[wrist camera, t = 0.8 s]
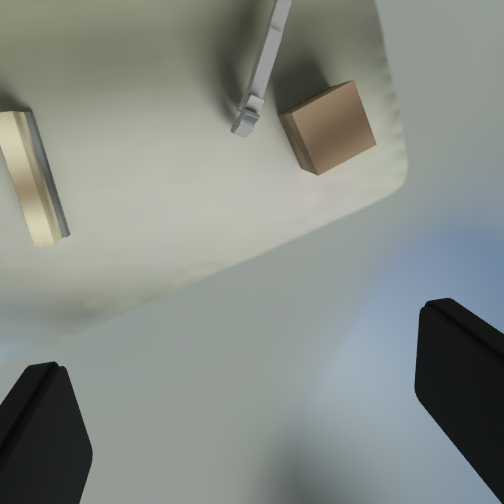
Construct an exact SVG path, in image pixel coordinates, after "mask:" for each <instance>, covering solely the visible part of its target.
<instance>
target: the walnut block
mask: <svg viewBox="0 0 504 504" xmlns="http://www.w3.org/2000/svg"><path fill="white" fill-rule="evenodd" d="M278 117H279V120H280V122H281V124H282V126H283V129H284V131H285V133H286V135H287V138H288V140H289V142H290V144H291V147H292V149H293V151H294V153H295V156H296V158H297V160H298V162H299V165H300V167H301V169H303V170H306V171H308V172H311V173H313V174H316V175H320V174H322V173H324V172H326V171H328V170H330V169H332V168H333V167H335V166H337V165H339V164H341V163H343V162H345V161H347V160H348V159H350V158H352V157H354V156H356V155H358V154H360V153H361V152H363V151H365V150H367V149H369V148H371V147H373V146H375V145H376V142H375V139H374V136H373V133H372V130H371V128H370V125H369V122H368V119H367V116H366V113H365V111H364V108H363V105H362V102H361V99H360V97H359V94H358V91H357V88H356V85H355V83H354V80H351V81H348V82H345V83H341V84H338V85H335V86H332V87H329V88H327V89H325V90H324V91H322V92H320V93H318V94H316V95H314V96H312V97H311V98H309V99H307V100H305V101H303V102H301V103H300V104H298V105H296V106H294V107H292V108H290V109H288V110H287V111H285V112H283V113H281V114H279V115H278Z"/></svg>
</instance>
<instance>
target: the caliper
mask: <svg viewBox="0 0 504 504" xmlns="http://www.w3.org/2000/svg"><path fill="white" fill-rule="evenodd" d="M291 3H292V0H275V2H274V6H273V9H272V12H271V15H270V19H269V22H268V25H267V28H266V32H265V35H264V38H263V40H262V42H261V44H260V47H259V50H258V54H257V57H256V60H255V63H254V67H253V71H252V74H251V78H250V82H249V85H248V87H247V89H246V91H245V93H244V95H243V97H242V99H241V101H240V103H239V105H238V108H237V111H240V112H241V113H240V116H239V117H238V118H237V120H236V121H235V123H234V124H233V125H232V127H231V132H232V133H234V134H237V135H240V136H242V137H247V136H248V135H249V134H250V133H251V132H252V131H253V128H254V124H255V122H256V121H257V120H258V119H259V114H257V113H258V112H259V111H260V109H261V107H262V105H263V103H264V101H265V100H264V99H262V98H263V96H264V93H265V90H266V87H267V84H268V80H269V77H270V74H271V71H272V67H273V64H274V61H275V58H276V55H277V51H278V48H279V45H280V42H281V38H282V35H283V33H282V32H283V29H284V26H285V23H286V19H287V16H288V13H289V10H290V7H291Z"/></svg>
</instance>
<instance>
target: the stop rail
mask: <svg viewBox="0 0 504 504" xmlns="http://www.w3.org/2000/svg"><path fill="white" fill-rule="evenodd" d="M0 145H1V148H2V151H3V154H4V157H5V160H6V163H7V166H8V169H9V172H10V174H11V177H12V180H13V183H14V186H15V189H16V192H17V195H18V198H19V201H20V204H21V207H22V210H23V213H24V216H25V219H26V221H27V224H28V227H29V230H30V233H31V236H32V239H33V242H34V245H35V247H39V246H46V245H52V244H55V243H57V242H58V241H59V240H60V239H61V238H63V237H68V236H69V235H70V233H69V230H68V226H67V223H66V220H65V217H64V213H63V210H62V207H61V203H60V200H59V197H58V193H57V190H56V187H55V184H54V180H53V177H52V174H51V170H50V167H49V164H48V160H47V157H46V154H45V150H44V147H43V144H42V141H41V137H40V134H39V131H38V127H37V124H36V121H35V117H34V114H33V112H30V111H29V112H16V111H9V112H1V113H0Z"/></svg>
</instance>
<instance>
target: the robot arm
mask: <svg viewBox="0 0 504 504" xmlns="http://www.w3.org/2000/svg"><path fill="white" fill-rule="evenodd" d="M415 393H416V395H417V398H418V400H419V401H420V403H421V404H422V405H423V406H424V407H425V409H426V410H427V411H428V413H429V414H430V415H431V416H432V418H433V419H434V420H435V421H436V423H437V424H438V425H439V426H440V427H441V429H442V430H443V431H444V432H445V434H446V435H447V436H448V437H449V439H450V440H451V441H452V442H453V444H454V445H455V446H456V447H457V449H458V450H459V451H460V452H461V453H462V455H463V456H464V457H465V458H466V460H467V461H468V462H469V463H470V465H471V466H472V467H473V468H474V470H475V471H476V472H477V473H478V474H479V476H480V477H481V478H482V479H483V481H484V482H485V483H486V484H487V486H488V487H489V488H490V489H491V490H492V492H493V493H494V494H495V496H496V497H497V498H498V499H499V501H500V502H501V503H502V504H504V334H503V333H501V332H500V331H498V330H497V329H495V328H494V327H493V326H491V325H490V324H488V323H487V322H485V321H484V320H482V319H481V318H479V317H478V316H476V315H475V314H473V313H472V312H471V311H469V310H467V309H466V308H465V307H463V306H462V305H460V304H459V303H457V302H456V301H454V300H453V299H451V298H443V299H437V300H431V301H428V302H426V304H425V306H424V307H422V308H421V310H420V314H419V329H418V343H417V358H416V371H415ZM92 454H93V453H92V447H91V444H90V440H89V437H88V434H87V431H86V428H85V425H84V422H83V419H82V415H81V413H80V409H79V406H78V403H77V400H76V397H75V394H74V391H73V388H72V385H71V382H70V378H69V376H68V372H67V370H66V368H65V367H64V366H60V367H59V365H58V364H57V363H56V362H48V363H42V364H35V365H30V366H28V367H27V368H26V369H25V370H24V372H23V373H22V375H21V376H20V378H19V379H18V380H17V382H16V383H15V385H14V386H13V388H12V389H11V390H10V392H9V393H8V395H7V396H6V398H5V399H4V401H3V402H2V403H1V405H0V504H79V503H80V500H81V496H82V493H83V489H84V487H85V483H86V480H87V477H88V473H89V470H90V467H91V463H92Z"/></svg>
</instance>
